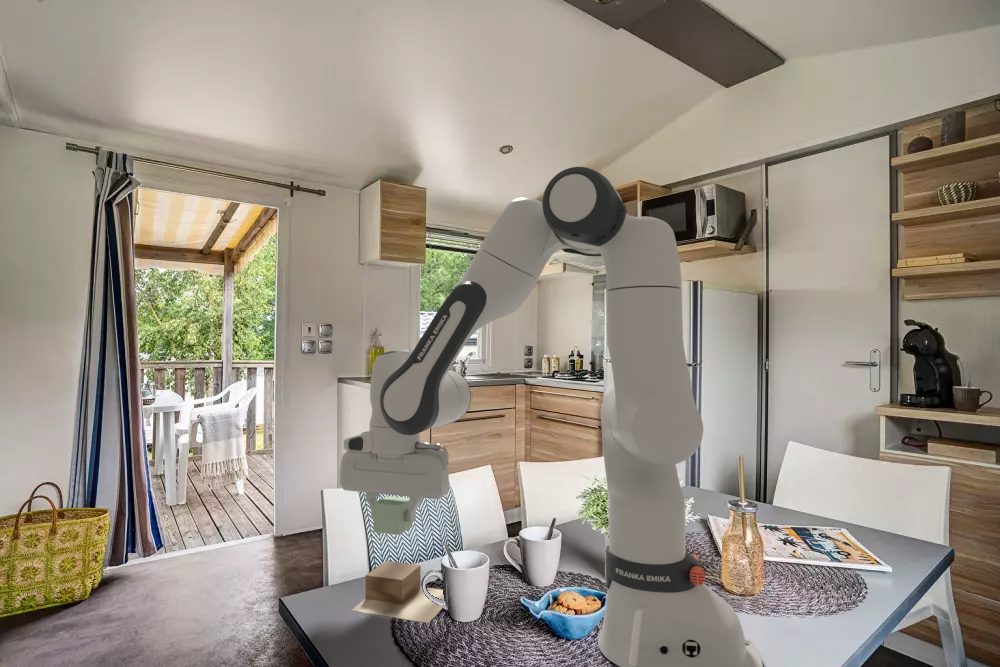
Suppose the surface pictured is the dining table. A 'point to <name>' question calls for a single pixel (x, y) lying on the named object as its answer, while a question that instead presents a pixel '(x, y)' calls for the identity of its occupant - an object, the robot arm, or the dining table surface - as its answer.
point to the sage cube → (391, 515)
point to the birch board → (405, 607)
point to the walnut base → (392, 582)
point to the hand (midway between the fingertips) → (393, 519)
